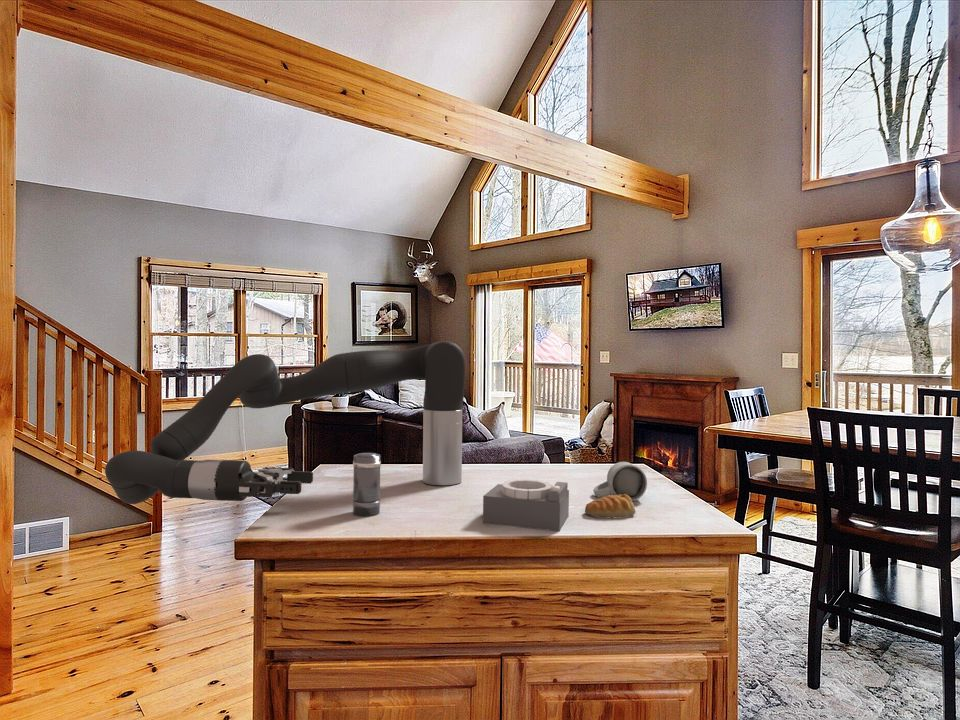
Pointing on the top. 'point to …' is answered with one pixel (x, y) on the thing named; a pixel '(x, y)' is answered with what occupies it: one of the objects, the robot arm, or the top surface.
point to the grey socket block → (527, 504)
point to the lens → (366, 484)
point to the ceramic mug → (623, 481)
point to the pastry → (611, 506)
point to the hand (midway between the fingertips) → (307, 482)
